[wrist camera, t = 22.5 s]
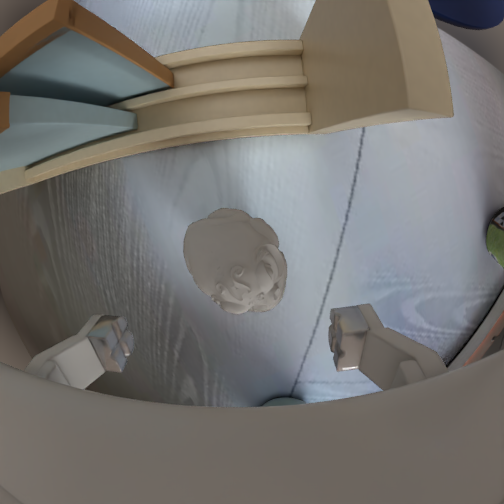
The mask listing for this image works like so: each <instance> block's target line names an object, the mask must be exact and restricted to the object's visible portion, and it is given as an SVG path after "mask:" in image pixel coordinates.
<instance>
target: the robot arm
mask: <svg viewBox="0 0 504 504" xmlns="http://www.w3.org/2000/svg"><path fill="white" fill-rule="evenodd" d="M330 320H331V323H332V324H331V325H330V327H329V333H328V336H329V346H330V350H331V351H332V352H333V353H334V357H333V360H334V363H335V367H336V370H337V371H345V370H353V369H359V370H360V371H361V372H362V373H363V374H364V375H366V376H367V377H368V378H369V379H370V380H372V381H373V382H374V383H375V384H376V385H378V386H379V387H380V388H381V389H382V390H384V391H380V392H376V393H371V394H366V395H361V396H355V397H350V398H344V399H338V400H331V401H324V402H316V403H307V404H297V405H284V406H267V407H206V406H188V405H176V404H165V403H156V402H148V401H141V400H134V399H128V398H122V397H117V396H112V395H106V394H102V393H97V392H93V391H88V390H84V389H85V388H86V387H87V386H88V385H90V384H91V383H92V382H93V381H95V380H96V379H97V378H98V377H99V376H101V375H102V374H103V373H104V372H105V371H113V372H122V371H123V369H124V367H125V365H126V363H127V359H126V358H127V357H128V356H130V355H131V354H132V352H133V349H134V339H133V336H132V333H131V332H130V331H129V330H128V329H127V327H128V323H127V321H126V318H125V317H123V316H112V315H92V317H91V318H90V319H89V320H88V321H87V323H86V324H85V325H84V326H83V328H82V329H81V330H80V331H79V333H78V334H77V335H76V336H75V335H73V336H71V337H70V338H68V339H66V340H64V341H62V342H60V343H58V344H56V345H54V346H53V347H51V348H49V349H47V350H45V351H43V352H41V353H39V354H38V355H36V356H35V357H34V358H33V359H32V360H31V362H30V363H29V364H28V366H27V367H26V368H25V369H24V371H22V370H19V369H17V368H14V367H12V366H9V365H7V364H5V363H2V362H0V504H504V349H503V350H500V351H498V352H496V353H494V354H492V355H490V356H488V357H485V358H483V359H481V360H478V361H476V362H474V363H471V364H469V365H466V366H463V367H461V368H458V369H456V370H453V371H450V372H449V371H448V369H447V367H446V366H445V364H444V363H443V361H442V360H441V358H440V356H439V355H438V353H437V352H436V351H434V350H432V349H430V348H428V347H426V346H424V345H422V344H420V343H418V342H416V341H414V340H412V339H410V338H408V337H406V336H404V335H402V334H400V333H398V332H396V331H394V330H392V329H390V328H384V326H383V324H382V323H381V321H380V319H379V318H378V316H377V314H376V313H375V311H374V309H373V308H372V306H371V304H369V303H368V304H361V305H356V306H350V307H342V308H333V309H331V311H330Z"/></svg>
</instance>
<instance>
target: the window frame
mask: <svg viewBox="0 0 504 504" xmlns="http://www.w3.org/2000/svg"><path fill="white" fill-rule="evenodd" d="M155 59H156V60H158V61H159V62H160V63H161V64H163V65H164V66H165V67H166V68H168V69H169V70H170V71H171V72H172V73H173V76H174V88H172V89H167V90H163V91H158V92H154V93H150V94H146V95H142V96H139V97H135V98H132V99H128V100H125V101H121V102H118V103H115V104H112V105H109V106H106V107H103V106H98V105H92V104H86V103H80V102H74V101H67V100H60V99H52V98H43V97H32V96H20V95H10V92H0V194H3V193H6V192H9V191H12V190H15V189H18V188H21V187H25V186H28V185H31V184H35V183H38V182H40V181H43V180H46V179H49V178H52V177H55V176H58V175H61V174H64V173H67V172H70V171H74V170H77V169H80V168H84V167H87V166H91V165H94V164H98V163H102V162H105V161H109V160H113V159H117V158H122V157H126V156H130V155H135V154H139V153H144V152H149V151H154V150H159V149H165V148H170V147H176V146H182V145H189V144H195V143H202V142H210V141H218V140H227V139H236V138H247V137H259V136H275V135H299V134H328V133H333V132H338V131H344V130H349V129H355V128H361V127H367V126H373V125H380V124H387V123H395V122H403V121H413V120H423V119H435V118H450V117H453V116H454V113H453V104H452V96H451V89H450V82H449V76H448V71H447V66H446V61H445V56H444V52H443V48H442V44H441V40H440V36H439V33H438V29H437V26H436V22H435V19H434V16H433V13H432V10H431V7H430V5H429V2H428V0H316V1H315V4H314V6H313V8H312V11H311V13H310V15H309V18H308V20H307V23H306V25H305V27H304V30H303V32H302V35H301V37H300V40H263V41H248V42H237V43H228V44H220V45H213V46H206V47H200V48H195V49H189V50H184V51H180V52H175V53H171V54H166V55H162V56H158V57H155Z"/></svg>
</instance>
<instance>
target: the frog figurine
mask: <svg viewBox="0 0 504 504" xmlns="http://www.w3.org/2000/svg"><path fill="white" fill-rule="evenodd" d="M278 247H279V241H278V237H277V235H276V233H275V232H274V230H273V229H272V228H271V227H270V226H269V225H268V224H267V223H266V222H265V221H264V220H263V219H261V218H252V217H250V216H249V215H248V214H247V213H245V212H244V211H242V210H238V209H229V208H220V209H218V210H216V211H214V212H212V213H211V214H210V215H209V216H208V218H207V219H201V220H199V221H196V222H194V223H192V224H191V225H189V226H188V229H187V231H186V234H185V238H184V250H183V252H184V258H185V261H186V264H187V267H188V270H189V272H190V273H191V274H192V275H193V278H194V281H195V283H196V285H197V286H198V287H199V288H200V289H201V290H202V292H204V293H205V294H207V295H209V296H211V298H212V300H213V301H214V302H216V303H217V304H219V305H221V308H222V309H223V310H225V311H227V312H230V313H232V314H242V313H244V312H247V311H252V312H265V311H269V310H271V309H272V308H274V307H275V306H276V305H277V304H278V303H279V302H280V300H281V299H282V297H283V294H284V290H285V285H286V278H287V264H286V260H285V258H284V255H283V253H282V252H281V251H279V249H278Z"/></svg>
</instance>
